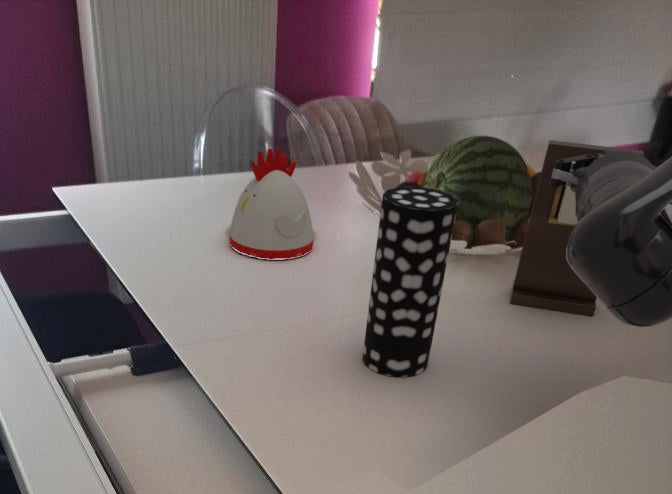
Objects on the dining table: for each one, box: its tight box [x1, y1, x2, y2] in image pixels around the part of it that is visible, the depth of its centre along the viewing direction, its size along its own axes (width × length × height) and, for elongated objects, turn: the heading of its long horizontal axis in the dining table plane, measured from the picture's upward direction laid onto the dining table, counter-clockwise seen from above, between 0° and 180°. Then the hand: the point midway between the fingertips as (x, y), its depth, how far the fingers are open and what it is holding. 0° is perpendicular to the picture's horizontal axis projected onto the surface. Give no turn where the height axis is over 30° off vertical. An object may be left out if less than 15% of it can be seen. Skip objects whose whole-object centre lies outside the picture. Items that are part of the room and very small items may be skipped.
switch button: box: [558, 186, 578, 225], centre depth 98 cm, size 2×5×6 cm, turn 74°
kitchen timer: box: [229, 146, 314, 259], centre depth 119 cm, size 14×14×15 cm
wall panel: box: [509, 139, 645, 317], centre depth 104 cm, size 6×12×22 cm, turn 74°
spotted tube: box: [362, 186, 459, 378], centre depth 88 cm, size 8×8×20 cm
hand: (607, 159), depth 84 cm, fingers closed
